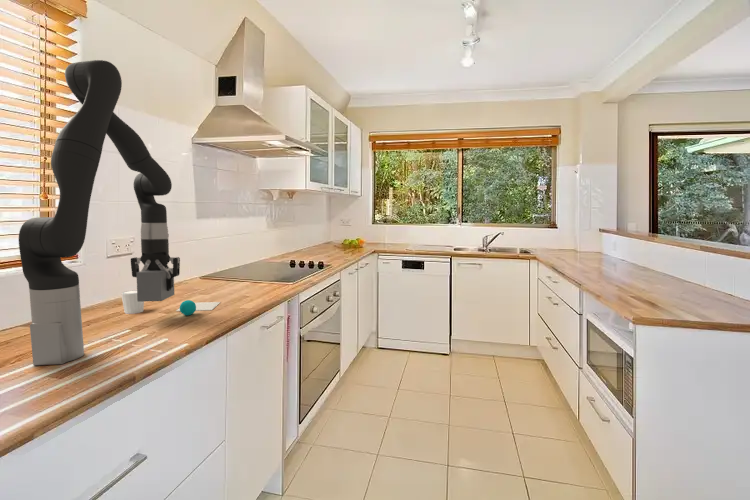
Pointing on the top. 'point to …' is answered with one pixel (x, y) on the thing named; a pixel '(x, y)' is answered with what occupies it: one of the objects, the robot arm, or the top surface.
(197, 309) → the white square plate
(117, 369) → the top surface
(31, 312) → the robot arm
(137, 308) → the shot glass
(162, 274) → the grey rectangular block
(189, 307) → the ball
